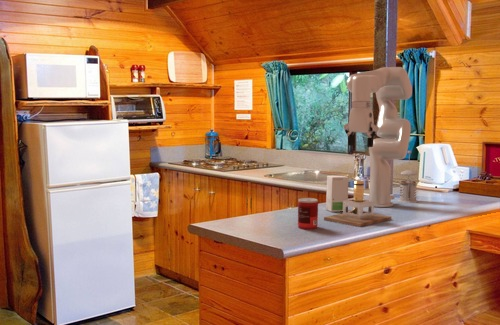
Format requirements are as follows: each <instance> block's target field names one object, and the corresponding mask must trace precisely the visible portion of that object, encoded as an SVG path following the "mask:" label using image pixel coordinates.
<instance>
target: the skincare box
mask: <svg viewBox="0 0 500 325" xmlns="http://www.w3.org/2000/svg"><path fill="white" fill-rule="evenodd" d="M349 181H350V180H349V176H345V175H326V196H325V197H326V198H325V199H326V200H325V210H326V211H328V212H333V213H337V212H340V211H343V200H349Z"/></svg>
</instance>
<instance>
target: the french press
mask: <svg viewBox="0 0 500 325" xmlns="http://www.w3.org/2000/svg"><path fill="white" fill-rule="evenodd" d="M412 153H413V152H412V150H407V154H408V164H410V161H411V160H410V158H411V154H412ZM400 175H402V176H408V177H407V180H401V181H400V182H401V183H400V184H399V187H400V188H399V199H397V202H400V203H404V204H405V203H409V204H411V203H412V204H416V203H419V201H418V200H417V187H418V186H417V184H416V183H417V181H414V180H413V179H414V178H413V177H411V179H410V176H417V175H418V173H417V172H416V171H414V170H410V169H407V170H403V171H401V172H400Z"/></svg>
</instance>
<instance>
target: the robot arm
mask: <svg viewBox="0 0 500 325" xmlns="http://www.w3.org/2000/svg"><path fill="white" fill-rule="evenodd" d="M411 83H412V82H411V80H410V76H409V74H408V72H407V70H406V69H405V68H404V67H402V66H391V67H390V66H388V67H387V66H383V67H380V68H377V69H374V70H369V71H365V72H358V73H354V74H351V75H349V77H348V78H347V81H346V88H347V90H348V91H349V92H350V93H351V108H350V111H349V117H348V122H347V123H345V124H344V125H343V126H342V127H343V129H344V133H346V137H347V144H348V146H350V147H351V146H354V145H355V135H354V134H355V133H360V134H362V133H363V134H366V135H367V141H366V142H367V145H366V146H367V148H368V153H369V163H370V167H369V169H370V170H369V196H368V197H369V198H368V200H371V201H374V207H375V208H389V207H390V208H391V207H393V206H394V203H393V202H392V200H394V199H395V195H391V180H392V179H391V178H392V177H391V176H392V167H391V165H390V164H389V162H388V161H387V160H399V161H400V160H404V159H405V158H406V157H407V154H408V151H409V149H408V148H409V144H410V138H411V128H412V127H411V126H412V125H411V122H410V121H409V120H408V119H406V118H397V117H398V108H397V107H396V105H395V104H394V103H393V102H392V100H393V101H396V100H400V101H401V100H403V101H405V100H408V99H410V98H411V97H412V96H413V95H412V94H413V86H412V84H411ZM374 93H375V98H376V101H377V104H378V109H379V111H378V116H377V121H376V124H375V120H374V112H373V108H371V107H372V106H373V103H372V102H371V94H374ZM376 136H377V137H376ZM375 137H376V138H375Z"/></svg>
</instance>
